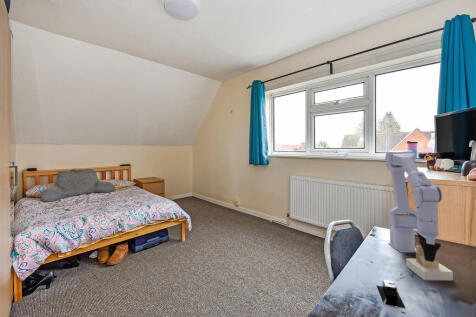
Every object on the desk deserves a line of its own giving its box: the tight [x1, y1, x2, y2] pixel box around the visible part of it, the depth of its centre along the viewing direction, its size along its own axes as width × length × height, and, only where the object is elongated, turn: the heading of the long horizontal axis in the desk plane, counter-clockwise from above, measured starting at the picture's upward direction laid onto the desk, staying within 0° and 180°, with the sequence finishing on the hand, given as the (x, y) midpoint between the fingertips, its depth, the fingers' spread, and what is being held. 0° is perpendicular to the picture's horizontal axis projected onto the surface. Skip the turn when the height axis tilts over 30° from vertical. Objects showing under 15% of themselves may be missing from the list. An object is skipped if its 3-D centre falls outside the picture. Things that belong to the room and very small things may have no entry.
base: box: [405, 257, 454, 281], centre depth 78 cm, size 9×9×3 cm
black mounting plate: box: [376, 279, 407, 310], centre depth 67 cm, size 12×7×5 cm, turn 158°
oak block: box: [415, 244, 440, 268], centre depth 77 cm, size 4×4×6 cm
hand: (427, 256), depth 77 cm, fingers open, 7 cm apart
